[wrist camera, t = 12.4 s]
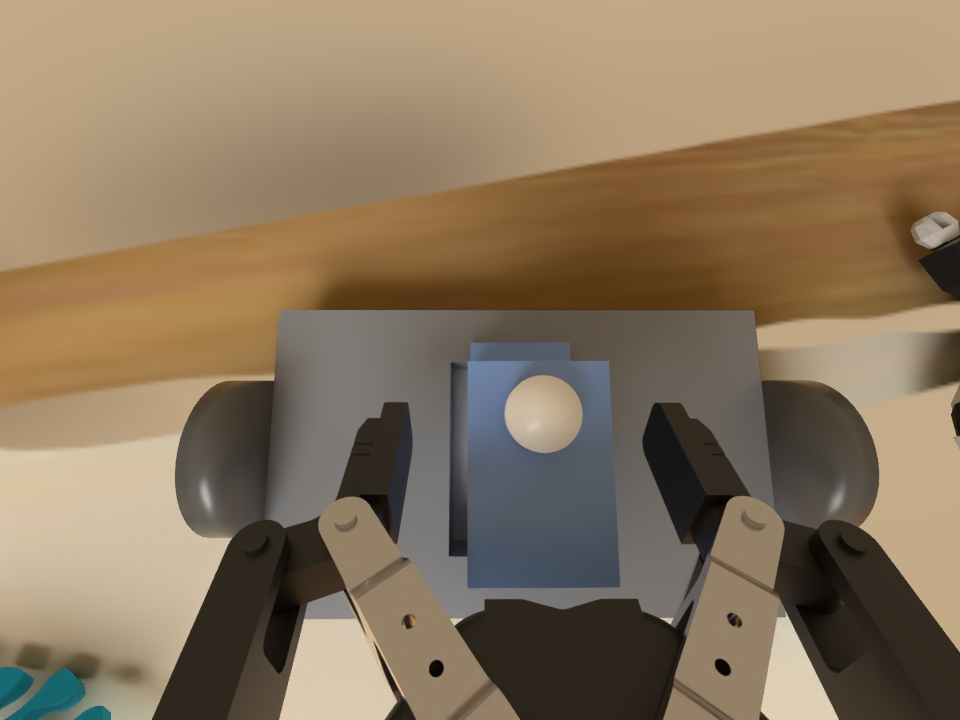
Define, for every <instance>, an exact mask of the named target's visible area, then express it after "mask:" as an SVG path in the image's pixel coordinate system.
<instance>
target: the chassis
mask: <svg viewBox="0 0 960 720" xmlns="http://www.w3.org/2000/svg"><path fill="white" fill-rule="evenodd" d="M544 342H570V359H571V361H609V373H610V393H611V412H612V432H613V452H614V471H615V491H616V511H617V531H618V550H619V570H620V587H618V588H467V517H468V361H470V343H544ZM385 402H408V405H409V411H410V419H411V427H412V435H413V449H412V457H411V463H410V469H409V475H408V482H407V488H406V494H405V500H404V506H403V513H402V519H401V525H400V531H399V537H398V544H395V545H396V547H397V549H398V550H399V552H400V553H401V555H402V556H403V557H404V558H409V559H410V560H411V562H412V563H413V564H414V565H415V567H416V568H417V570H418V571H419V573H420V575H421V576H422V578H423V579H424V581H425V582H426V584H427V585H428V587H429V588H430V590H431V591H432V593H433V594H434V596H435V597H436V599H437V600H438V602H439V603H440V605H441V606H442V608H443V610H444V611H445V613H446V614H447V616H448V617H449V618H466V617H468V616H470V615H472V614H475V613H477V612H480V611H483V610H484V599H524V600H528V601H532V602H535V603H539V604H543V605H546V606H550V607H554V608H558V609H568V608H571V607H575V606H578V605H581V604H585V603H588V602H591V601H594V600H598V599H638V600H639V604H640V607H641V610H642V611H643V612H646V613H649V614H651V615H654V616H656V617H658V618H674V617H675V615H676V613H677V610H678V608H679V605H680V602H681V600H682V597H683V594H684V591H685V588H686V586H687V583H688V580H689V577H690V574H691V571H692V569H693V566H694V563H695V560H696V558H697V556H698V554H699V551H698V548H697V546H696V544H681V542H680V540H679V537H678V535H677V532H676V530H675V528H674V525H673V523H672V520H671V518H670V515H669V513H668V511H667V508H666V506H665V503H664V501H663V498H662V496H661V494H660V491H659V489H658V486H657V484H656V481H655V479H654V477H653V474H652V472H651V469H650V467H649V464H648V462H647V460H646V457H645V455H644V451H643V445H642V439H643V434H644V431H645V428H646V425H647V422H648V419H649V415H650V412H651V409H652V406H653V405H654V403H681V404H682V405H683V407H684V409H685V410H686V412H687V414H688V416H689V417H690V419H698V420H699V421H701V422H702V423H703V424H704V425H705V426H706V427H708V428H709V429H710V430H711V432H712V433H713V435H714V437H715V438H716V440H717V441H718V443H719V446H721V448H722V450H723V451H724V453H725V457H727V458H728V459H729V461H730V463H731V464H732V466H733V468H734V469H735V471H736V472H737V474H738V476H739V477H740V479H741V481H742V482H743V484H744V486H745V487H746V489H747V490H748V492H749V494H750V495H751V497H752V498H755V499H758V500H760V501H762V502H764V503H765V504H767V505H768V506H770V507H771V508H772V509H773V510H774V511H775V512H776V513H777V514H778V515H779V516H780V518H781V519H782V520H785V521H788V522H792V523H796V524H799V525H803V526H807V527H811V528H814V529H818V527H819V526H820V525H821V524H822V523H823V522H825V521H827V520H841V521H845V522H848V523H850V524H853V525H855V526H857V527H859V526H860V525H861V524H862V523H863V522H864V521H865V520H866V518H867V517H868V516H869V514H870V512H871V510H872V508H873V506H874V503H875V500H876V497H877V492H878V486H879V467H878V458H877V453H876V449H875V445H874V442H873V439H872V436H871V434H870V432H869V430H868V427H867V425H866V424H865V422H864V420H863V419H862V417H861V415H860V414H859V413H858V411H857V410H856V409H855V407H854V406H853V405H852V404H851V403H850V402H849V401H848V400H847V399H846V398H845V397H844V396H843V395H841V394H840V393H839V392H838V391H836V390H834V389H833V388H831V387H829V386H827V385H825V384H822V383H819V382H815V381H761V373H760V363H759V354H758V344H757V334H756V325H755V315H754V310H280V311H279V325H278V338H277V352H276V365H275V380H274V381H225V382H222V383H219V384H217V385H215V386H214V387H212V388H211V389H209V390H208V391H207V392H206V393H205V394H204V395H203V396H202V397H201V398H200V400H199V401H198V402H197V404H196V405H195V407H194V408H193V410H192V412H191V414H190V415H189V417H188V420H187V422H186V424H185V427H184V429H183V432H182V435H181V438H180V442H179V447H178V451H177V458H176V467H175V487H176V495H177V500H178V504H179V508H180V511H181V513H182V516H183V518H184V520H185V521H186V523H187V525H188V526H189V527H190V528H191V529H192V530H193V531H194V532H195V533H196V534H198V535H200V536H202V537H207V538H233V537H234V536H235V535H236V534H237V533H238V532H239V531H240V530H241V529H243V528H244V527H246V526H247V525H249V524H251V523H254V522H256V521H260V520H273V521H276V522H278V523H280V524H281V525H282V526H283V528H286V527H290V526H293V525H297V524H300V523H303V522H307V521H310V520H312V519H315V518H317V517H318V516H320V515H321V514H322V513H323V511H324V510H325V509H326V508H327V507H328V506H329V505H330V504H331V503H333V502H334V501H335V500H336V497H337V495H338V492H339V488H340V485H341V482H342V479H343V476H344V472H345V469H346V466H347V463H348V460H349V456H350V453H351V450H352V447H353V445H354V441H355V437H356V434H357V431H358V429H359V428H360V427H361V426H362V424H363V423H364V422H365V421H366V420H367V419H368V418H380V416H381V412H382V408H383V405H384V403H385ZM777 617H786V616H785V608H784V606H783V604H782V602H781V600H780V601H779V608H778V614H777ZM304 619H356V617H355V615H354V613H353V611H352V609H351V607H350V605H349V603H348V601H347V599H346V597H345V595H344V593H343V591H340V592H337V593H334V594H332V595H329V596H326V597H323V598H320V599H317V600H314V601H311V602H308V604H307V608H306V613H305V617H304Z"/></svg>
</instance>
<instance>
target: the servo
mask: <svg viewBox="0 0 960 720" xmlns="http://www.w3.org/2000/svg"><path fill="white" fill-rule="evenodd" d="M618 587H620V570H619V550H618V531H617V511H616V491H615V471H614V452H613V432H612V412H611V393H610V373H609V361H571V359H570V342H544V343H470V361H468V517H467V588H618Z"/></svg>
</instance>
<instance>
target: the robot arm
mask: <svg viewBox="0 0 960 720" xmlns="http://www.w3.org/2000/svg"><path fill="white" fill-rule="evenodd" d="M642 445H643V451H644V455H645V457H646V460H647V462H648V464H649V467H650V469H651V472H652V474H653V477H654V479H655V481H656V484H657V486H658V489H659V491H660V494H661V496H662V498H663V501H664V503H665V506H666V508H667V511H668V513H669V515H670V518H671V520H672V523H673V525H674V528H675V530H676V532H677V535H678V537H679V540H680V542H681V544H696V546H697V548H698V551H699V554H698V556H697V558H696V560H695V563H694V566H693V569H692V571H691V574H690V577H689V580H688V583H687V586H686V588H685V591H684V594H683V597H682V600H681V602H680V605H679V608H678V610H677V613H676V615H675V617H674V619H673V621H672V623H671V625H670V624H668V623H667V622H665V621H664V620H662V619H660V618H658V617H656V616H654V615H651V614H649V613H646V612H643V611H642V610H641V607H640V604H639V600H638V599H598V600H594V601H591V602H588V603H585V604H581V605H578V606H575V607H571V608H568V609H558V608H554V607H550V606H546V605H543V604H539V603H535V602H532V601H528V600H524V599H484V610H483V611H480V612H477V613H475V614H472V615H470V616H468V617H466V618H465V619H463V620H462V621H460V622H459V623H457V624H456V625H455V626H454V625H453V623H452V622H451V620H450V619H449V617H448V616H447V614H446V613H445V611H444V610H443V608H442V606H441V605H440V603H439V602H438V600H437V599H436V597H435V596H434V594H433V593H432V591H431V590H430V588H429V587H428V585H427V584H426V582H425V581H424V579H423V578H422V576H421V575H420V573H419V571H418V570H417V568H416V567H415V565H414V564H413V563H412V562H411V560H410V559H409V558H404V557H403V556H402V555H401V553H400V552H399V550H398V549H397V547H396V545H395V544H398V537H399V531H400V525H401V519H402V513H403V506H404V500H405V494H406V488H407V482H408V475H409V469H410V463H411V457H412V449H413V435H412V427H411V419H410V411H409V405H408V402H385V403H384V405H383V408H382V412H381V416H380V418H368V419H367V420H366V421H365V422H364V423H363V424H362V426H361V427H360V428H359V429H358V431H357V434H356V437H355V441H354V445H353V447H352V450H351V453H350V456H349V460H348V463H347V466H346V469H345V472H344V476H343V479H342V482H341V485H340V488H339V492H338V495H337V497H336V500H335V501H334V502H333V503H331V504H330V505H329V506H328V507H327V508H326V509H325V510H324V511H323V513H322V514H321V515H320V516H318V517H317V518H315V519H312V520H310V521H307V522H303V523H300V524H297V525H293V526H290V527H286V528H283V526H282V525H281V524H280V523H278V522H276V521H273V520H260V521H256V522H254V523H251V524H249V525H247V526H246V527H244V528H243V529H241V530H240V531H239V532H238V533H237V534H236V535H235V536H234V537H233V538H232V540H231V541H230V543H229V545H228V547H227V549H226V551H225V554H224V556H223V558H222V560H221V563H220V565H219V567H218V570H217V572H216V574H215V576H214V579H213V581H212V583H211V586H210V588H209V590H208V592H207V595H206V597H205V599H204V602H203V604H202V606H201V608H200V611H199V613H198V615H197V618H196V620H195V622H194V624H193V627H192V629H191V631H190V634H189V636H188V638H187V640H186V643H185V645H184V647H183V650H182V652H181V654H180V656H179V659H178V661H177V663H176V666H175V668H174V670H173V673H172V675H171V677H170V679H169V682H168V684H167V686H166V689H165V691H164V693H163V695H162V698H161V700H160V702H159V705H158V707H157V709H156V711H155V714H154V716H153V718H152V720H279V717H280V713H281V709H282V705H283V701H284V697H285V693H286V689H287V685H288V681H289V677H290V673H291V669H292V665H293V661H294V657H295V653H296V649H297V645H298V641H299V637H300V633H301V629H302V625H303V621H304V617H305V613H306V608H307V604H308V602H311V601H314V600H317V599H320V598H323V597H326V596H329V595H332V594H334V593H337V592H340V591H343V593H344V595H345V597H346V599H347V601H348V603H349V605H350V607H351V609H352V611H353V613H354V615H355V617H356V619H357V621H358V623H359V625H360V627H361V629H362V631H363V633H364V635H365V637H366V639H367V641H368V643H369V646H370V648H371V650H372V652H373V655H374V657H375V659H376V661H377V664H378V666H379V668H380V670H381V672H382V674H383V676H384V678H385V680H386V682H387V684H388V686H389V688H390V690H391V692H392V694H393V696H394V698H395V700H396V702H397V703H396V704H395V706H394V707H393V709H392V710H391V712H390V713H389V714H388V716H387V717H386V719H385V720H769V719H768V718H767V717H766V716H765V715H764V714H763V713H762V712H761V705H762V699H763V694H764V688H765V682H766V677H767V671H768V665H769V659H770V654H771V648H772V642H773V637H774V631H775V625H776V620H777V614H778V608H779V601H780V600H781V602H782V604H783V606H784V608H785V610H786V612H787V615H788V617H789V619H790V621H791V623H792V625H793V627H794V629H795V631H796V633H797V635H798V637H799V639H800V641H801V643H802V645H803V647H804V649H805V651H806V653H807V655H808V657H809V659H810V661H811V663H812V665H813V667H814V669H815V672H816V674H817V676H818V678H819V680H820V682H821V684H822V686H823V688H824V690H825V692H826V694H827V696H828V698H829V700H830V702H831V704H832V706H833V708H834V710H835V712H836V714H837V716H838V718H839V720H960V652H959V651H958V649H957V648H956V647H955V645H954V644H953V643H952V642H951V640H950V639H949V637H948V636H947V635H946V633H945V632H944V631H943V629H942V628H941V627H940V625H939V624H938V623H937V621H936V620H935V619H934V617H933V616H932V615H931V613H930V612H929V611H928V609H927V608H926V607H925V605H924V604H923V603H922V601H921V600H920V599H919V597H918V596H917V595H916V593H915V592H914V591H913V589H912V588H911V586H910V585H909V584H908V583H907V581H906V580H905V578H904V577H903V576H902V575H901V573H900V572H899V570H898V569H897V568H896V566H895V565H894V564H893V562H892V561H891V560H890V558H889V557H888V556H887V554H886V553H885V552H884V550H883V549H882V548H881V546H880V545H879V544H878V543H877V542H876V540H875V539H874V538H872V537H871V536H870V535H869V534H868V533H866V532H865V531H864V530H862V529H860V528H859V527H857V526H855V525H853V524H850V523H848V522H845V521H841V520H827V521H825V522H823V523H822V524H821V525H820V526H819V527H818V529H814V528H811V527H807V526H803V525H799V524H796V523H792V522H788V521H785V520H782V519H781V518H780V516H779V515H778V514H777V513H776V512H775V511H774V510H773V509H772V508H771V507H770V506H768V505H767V504H765V503H764V502H762V501H760V500H758V499H755V498H752V497H751V495H750V494H749V492H748V490H747V489H746V487H745V486H744V484H743V482H742V481H741V479H740V477H739V476H738V474H737V472H736V471H735V469H734V468H733V466H732V464H731V463H730V461H729V459H728V458H727V457H725V453H724V451H723V450H722V448H721V446H719V443H718V441H717V440H716V438H715V437H714V435H713V433H712V432H711V430H710V429H709V428H708V427H706V426H705V425H704V424H703V423H702V422H701V421H699V420H698V419H690V417H689V416H688V414H687V412H686V410H685V409H684V407H683V405H682V404H681V403H654V405H653V406H652V409H651V412H650V415H649V419H648V422H647V425H646V428H645V431H644V434H643V439H642Z"/></svg>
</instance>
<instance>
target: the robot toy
mask: <svg viewBox="0 0 960 720" xmlns="http://www.w3.org/2000/svg"><path fill="white" fill-rule="evenodd" d="M910 231H911V233H912V236H913V238H914V240H915V242H916V243H917V244H920V245H922V246H924V247H926V248H928V249H930V250H932V251H936V252H934V253H932V254H930V255H928V256H926V257H924V258H922V259H920V260H919V262H920V263H921V264H922V266H923V267H924V268H925V269H926V271H927V272H928V273H929V274H930V276H931V277H932V278H933V280H934V281H935V282H936V283H937V285H938V286H939V287H940V288H941V290H943V291H945V292H948V293H950V294H953V295H955V296H958V297H960V240H959V239H960V231H959V224H958V221H957V220H956V219H955V218H953V217H952V216H951V215H949V214H948V213H946V212H939V211H936V212H934V213H932V214H930V215H928V216H926V217H924V218H922V219H920V220H918V221H916V222H914V223H913V225H912V227H911V229H910ZM951 406H952V413H951V417H952V420H953V424H954V427H955V431H956V435H957V437H954V439H955V441H956V443H957V445H958V446H959V448H960V385H959V387H958V390H957V392H956V394H955V396H954V399H953V401H952V403H951Z"/></svg>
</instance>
